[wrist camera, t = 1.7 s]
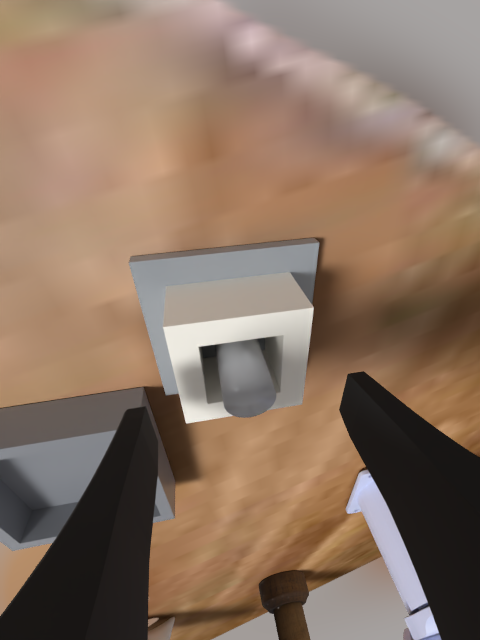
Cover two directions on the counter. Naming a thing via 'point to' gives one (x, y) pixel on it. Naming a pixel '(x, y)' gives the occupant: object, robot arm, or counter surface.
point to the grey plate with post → (211, 265)
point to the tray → (63, 462)
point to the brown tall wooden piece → (286, 603)
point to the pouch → (162, 631)
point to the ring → (237, 336)
